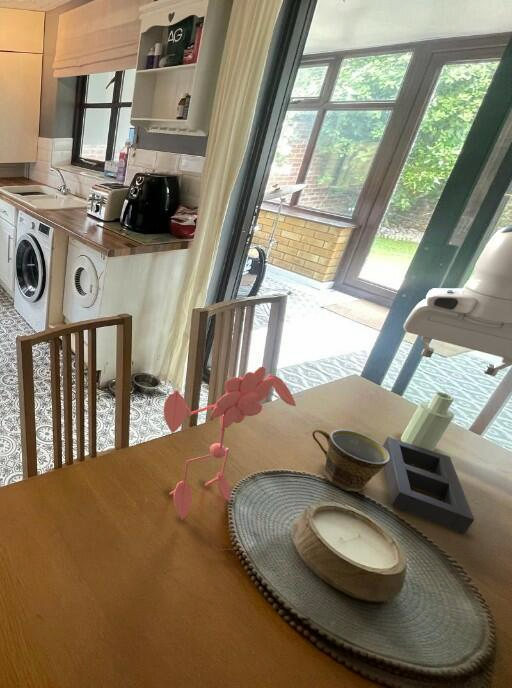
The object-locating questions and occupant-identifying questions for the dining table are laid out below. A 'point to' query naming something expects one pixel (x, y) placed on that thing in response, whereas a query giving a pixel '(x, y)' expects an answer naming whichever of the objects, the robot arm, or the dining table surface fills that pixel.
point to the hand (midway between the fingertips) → (456, 364)
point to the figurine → (223, 422)
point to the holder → (426, 485)
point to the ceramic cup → (352, 458)
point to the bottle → (429, 422)
